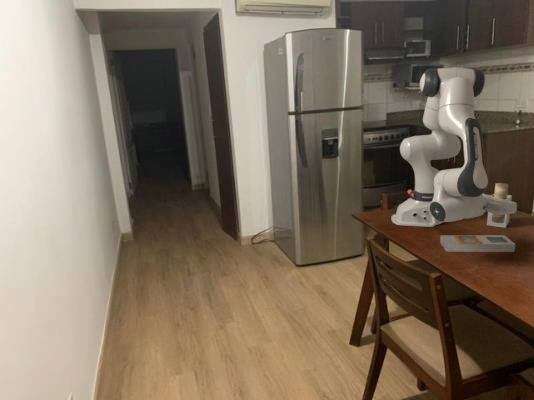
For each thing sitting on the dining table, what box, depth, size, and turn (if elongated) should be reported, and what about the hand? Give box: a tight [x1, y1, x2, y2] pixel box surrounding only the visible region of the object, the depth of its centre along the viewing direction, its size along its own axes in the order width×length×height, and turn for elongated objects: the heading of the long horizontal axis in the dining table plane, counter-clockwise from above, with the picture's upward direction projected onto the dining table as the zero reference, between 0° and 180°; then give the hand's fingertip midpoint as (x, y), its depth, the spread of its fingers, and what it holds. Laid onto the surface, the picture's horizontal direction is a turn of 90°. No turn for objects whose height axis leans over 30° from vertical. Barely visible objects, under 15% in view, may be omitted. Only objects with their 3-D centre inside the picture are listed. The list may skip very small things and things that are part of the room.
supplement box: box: [486, 193, 513, 229], centre depth 167 cm, size 7×7×13 cm
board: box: [439, 234, 516, 253], centre depth 146 cm, size 23×9×3 cm, turn 81°
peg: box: [492, 182, 509, 223], centre depth 141 cm, size 4×4×14 cm
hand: (502, 198), depth 141 cm, fingers closed on peg, 4 cm apart
